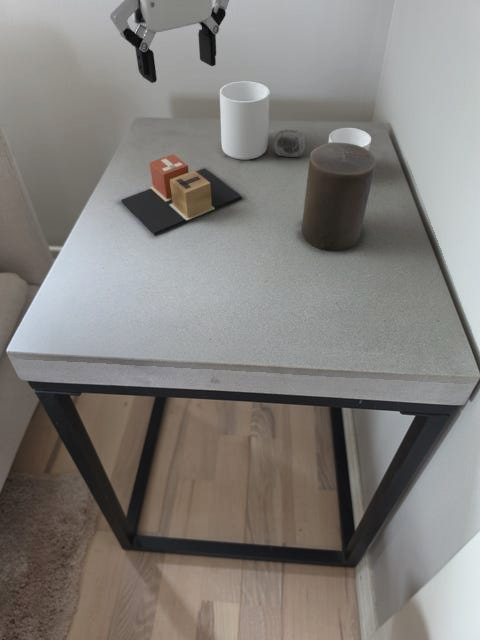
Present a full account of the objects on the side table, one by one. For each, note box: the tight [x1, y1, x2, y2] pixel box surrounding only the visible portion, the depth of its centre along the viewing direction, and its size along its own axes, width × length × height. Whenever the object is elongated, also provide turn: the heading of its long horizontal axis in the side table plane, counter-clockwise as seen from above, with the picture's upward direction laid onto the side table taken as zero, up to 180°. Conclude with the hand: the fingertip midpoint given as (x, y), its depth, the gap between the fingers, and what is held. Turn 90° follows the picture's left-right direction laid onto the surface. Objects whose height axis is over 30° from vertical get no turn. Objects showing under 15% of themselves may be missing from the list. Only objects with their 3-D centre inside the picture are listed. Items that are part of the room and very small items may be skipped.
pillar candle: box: [301, 142, 377, 252], centre depth 75 cm, size 10×10×15 cm
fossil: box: [272, 129, 306, 158], centre depth 97 cm, size 6×3×5 cm, turn 89°
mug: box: [219, 80, 271, 161], centre depth 96 cm, size 10×12×12 cm
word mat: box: [121, 167, 242, 236], centre depth 87 cm, size 18×13×1 cm
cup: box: [327, 127, 372, 151], centre depth 91 cm, size 8×10×7 cm
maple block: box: [170, 170, 212, 218], centre depth 83 cm, size 5×5×5 cm
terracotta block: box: [149, 153, 190, 199], centre depth 87 cm, size 5×5×5 cm
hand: (179, 71), depth 68 cm, fingers open, 9 cm apart
